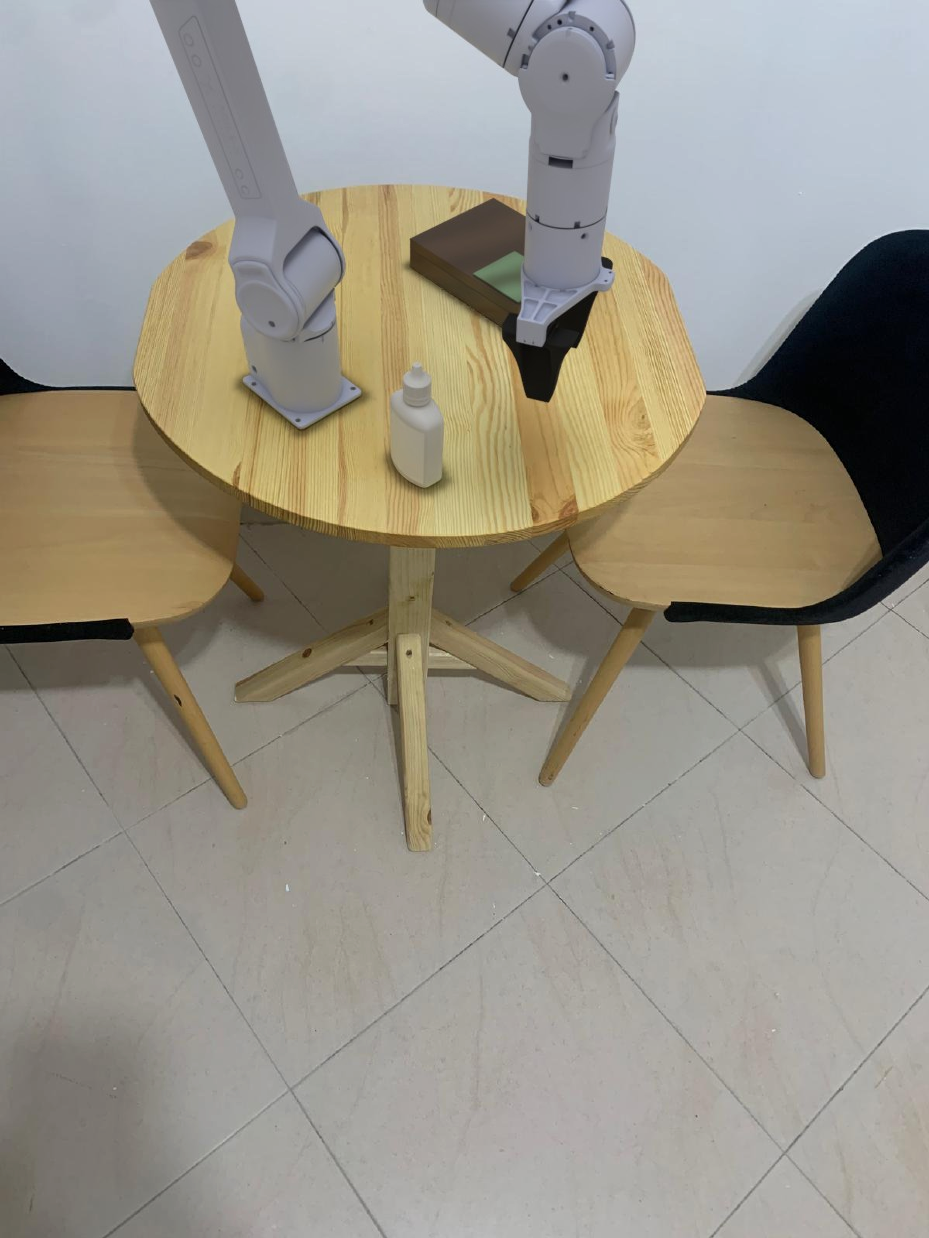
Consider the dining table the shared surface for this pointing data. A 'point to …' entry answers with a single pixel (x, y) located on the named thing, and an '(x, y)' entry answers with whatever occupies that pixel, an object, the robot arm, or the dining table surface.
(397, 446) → the eye dropper bottle
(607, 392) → the dining table surface
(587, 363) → the dining table surface
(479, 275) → the shelf
